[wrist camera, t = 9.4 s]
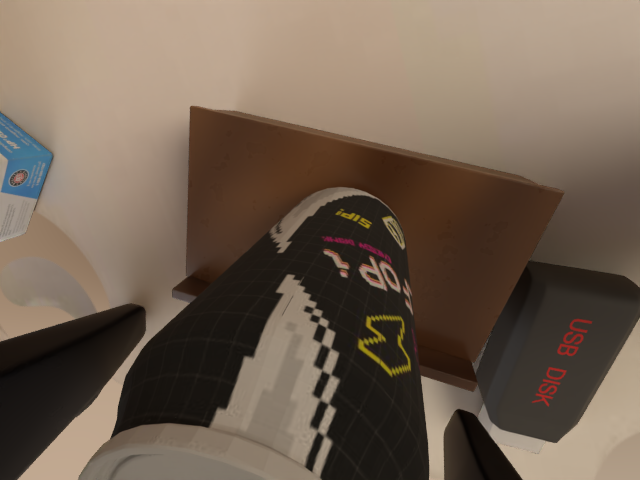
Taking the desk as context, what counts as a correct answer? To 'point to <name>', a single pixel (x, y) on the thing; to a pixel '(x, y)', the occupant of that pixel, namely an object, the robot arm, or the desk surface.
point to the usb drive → (552, 351)
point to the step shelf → (393, 190)
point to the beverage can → (285, 362)
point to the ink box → (19, 177)
